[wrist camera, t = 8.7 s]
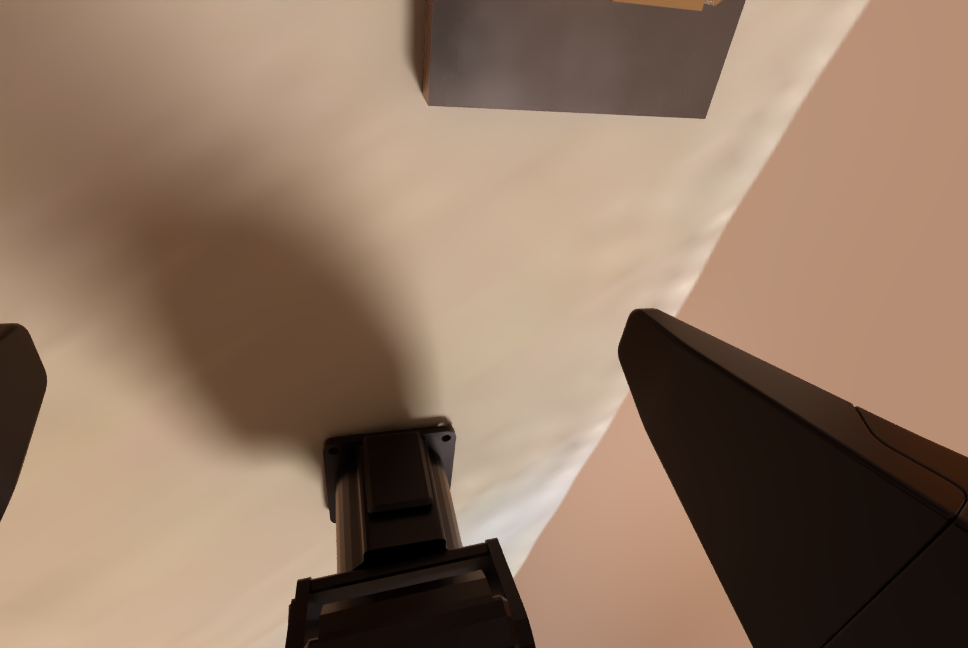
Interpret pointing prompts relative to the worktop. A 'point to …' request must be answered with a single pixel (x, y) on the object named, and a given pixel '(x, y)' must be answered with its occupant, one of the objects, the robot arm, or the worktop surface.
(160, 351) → the worktop surface
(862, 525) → the robot arm
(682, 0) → the ring
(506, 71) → the shaft stand
